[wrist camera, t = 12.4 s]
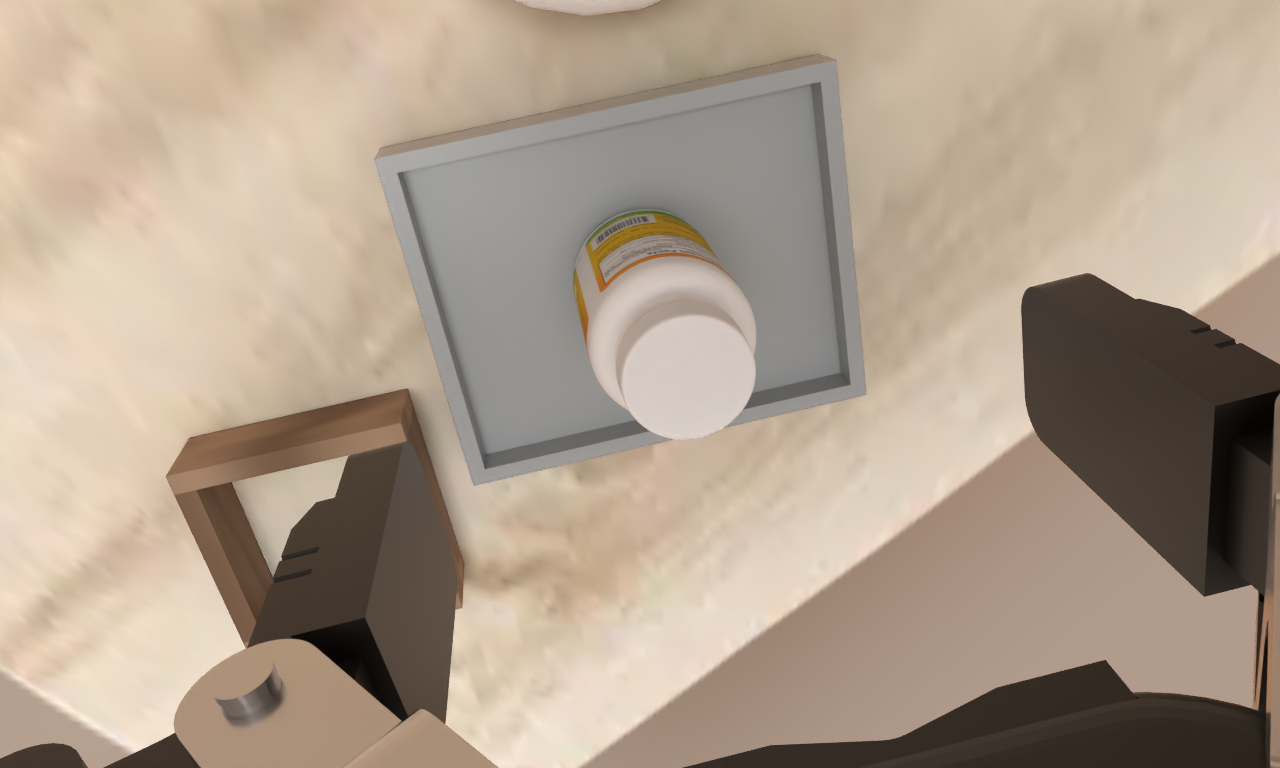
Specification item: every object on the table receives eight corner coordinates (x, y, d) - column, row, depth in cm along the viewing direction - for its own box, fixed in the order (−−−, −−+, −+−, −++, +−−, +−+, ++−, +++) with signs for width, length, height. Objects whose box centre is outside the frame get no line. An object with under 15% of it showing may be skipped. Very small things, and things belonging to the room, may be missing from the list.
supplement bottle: (673, 361, 38) (727, 486, 29) (548, 311, 36) (565, 427, 28) (737, 240, 36) (814, 333, 28) (608, 181, 35) (647, 261, 26)
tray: (818, 54, 35) (835, 60, 33) (849, 374, 40) (866, 394, 38) (380, 147, 34) (374, 159, 32) (474, 461, 39) (473, 486, 38)
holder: (407, 388, 38) (400, 422, 35) (464, 564, 41) (462, 607, 39) (189, 438, 37) (165, 476, 35) (266, 611, 41) (250, 658, 38)
